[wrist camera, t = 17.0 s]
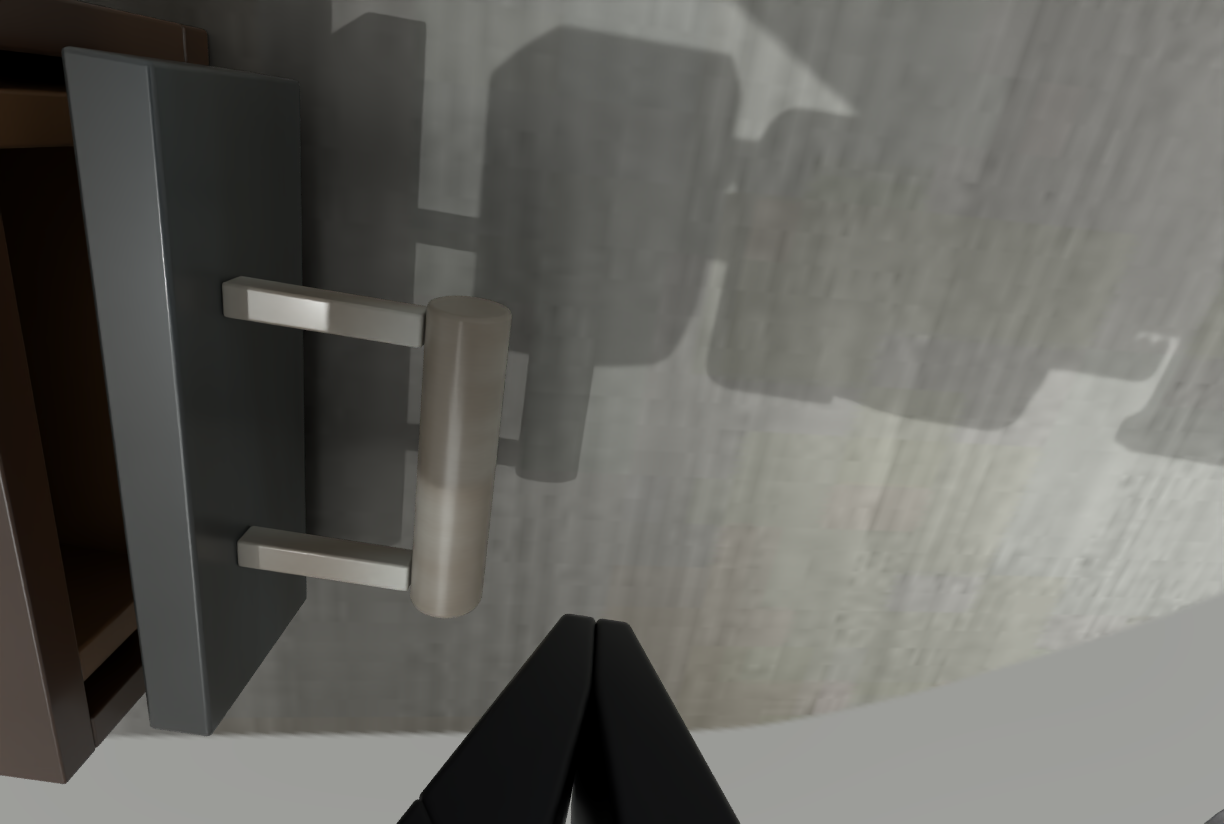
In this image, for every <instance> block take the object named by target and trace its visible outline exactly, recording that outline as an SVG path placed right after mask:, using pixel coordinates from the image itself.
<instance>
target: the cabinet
mask: <svg viewBox="0 0 1224 824" xmlns="http://www.w3.org/2000/svg"><path fill="white" fill-rule="evenodd" d="M67 46H73V47H80V48H87V49H94V50H101V51H108V52H115V53H122V54H129V55H136V56H143V57H150V58H157V59H164V60H172V61H179V62H186V63H193V64H200V65H207V66H209V54H208V37H207V32H206V31H205V30H204V29H201V28H196V27H192V26H187V25H183V24H178V23H174V22H170V21H165V20H161V19H156V18H152V17H147V16H143V15H139V14H134V13H130V12H125V11H121V10H116V9H112V8H107V7H103V6H99V5H94V4H90V3H85V2H81V1H76V0H0V71H3V72H9V73H15V74H20V75H26V76H32V77H38V78H44V79H50V80H55V81H61V82H65V77H64V69H63V62H62V54H61V51H62V48H64V47H67ZM145 692H146V690H145V683H144V675H143V667H142V660H141V652H140V645H139V637H138V630H137V629H136V630H135V631H134V632H133V633H132V634H131V635H130V636H129V637H128V638H127V639H126V640H125V641H124V642H123V643H122V644H121V645H120V646H119V647H118V648H117V649H116V650H115V651H114V652H113V653H112V654H111V655H110V656H109V657H108V658H107V659H106V660H105V661H104V662H103V663H102V664H101V665H100V666H99V667H98V668H97V669H96V670H95V671H94V672H93V673H92V674H91V675H90V676H89V677H88V678H87V679H86V680H85V681H83V675H82V669H81V664H80V658H79V652H78V647H77V641H76V635H75V629H74V624H73V618H72V612H71V607H70V601H69V595H68V590H67V584H66V578H65V573H64V567H63V561H62V556H61V550H60V544H59V539H58V533H57V527H56V522H55V516H54V510H53V505H52V499H51V493H50V488H49V482H48V476H47V471H46V465H45V459H44V453H43V448H42V442H41V436H40V431H39V425H38V419H37V414H36V408H35V402H34V397H33V391H32V385H31V380H30V374H29V368H28V363H27V357H26V351H25V346H24V340H23V334H22V329H21V323H20V317H19V312H18V306H17V300H16V295H15V289H14V283H13V278H12V272H11V266H10V260H9V255H8V249H7V243H6V238H5V232H4V226H3V221H2V215H1V209H0V775H2V776H9V777H17V778H24V779H31V780H39V781H46V782H53V783H60V784H66V783H67V782H68V781H69V780H70V778H71V777H72V776H73V775H74V774H75V773H76V772H77V770H78V769H79V768H80V767H81V766H82V765H83V764H84V762H85V761H86V760H87V759H88V758H89V756H90V755H91V754H92V753H93V752H94V751H95V748H96V747H98V746H99V745H100V744H101V742H102V741H103V740H104V739H105V738H106V737H107V736H108V734H109V733H110V732H111V731H112V730H113V729H114V728H115V726H116V725H117V724H118V723H119V722H120V721H121V719H122V718H123V717H124V716H125V715H126V714H127V713H128V711H129V710H130V709H131V708H132V707H133V706H134V704H135V703H136V702H137V701H138V700H139V699H140V698H141V696H142V695H143V694H144V693H145Z"/></svg>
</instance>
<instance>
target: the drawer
mask: <svg viewBox="0 0 1224 824" xmlns="http://www.w3.org/2000/svg"><path fill="white" fill-rule="evenodd" d="M61 54H62V62H63V69H64V77H65V82H61V81H55V80H50V79H44V78H38V77H32V76H26V75H20V74H15V73H9V72H3V71H0V209H1V215H2V221H3V226H4V232H5V238H6V243H7V249H8V255H9V260H10V266H11V272H12V278H13V283H14V289H15V295H16V300H17V306H18V312H19V317H20V323H21V329H22V334H23V340H24V346H25V351H26V357H27V363H28V368H29V374H30V380H31V385H32V391H33V397H34V402H35V408H36V414H37V419H38V425H39V431H40V436H41V442H42V448H43V453H44V459H45V465H46V471H47V476H48V482H49V488H50V493H51V499H52V505H53V510H54V516H55V522H56V527H57V533H58V539H59V544H60V550H61V556H62V561H63V567H64V573H65V578H66V584H67V590H68V595H69V601H70V607H71V612H72V618H73V624H74V629H75V635H76V641H77V647H78V652H79V658H80V664H81V669H82V675H83V681H85V680H86V679H87V678H88V677H89V676H90V675H91V674H92V673H93V672H94V671H95V670H96V669H97V668H98V667H99V666H100V665H101V664H102V663H103V662H104V661H105V660H106V659H107V658H108V657H109V656H110V655H111V654H112V653H113V652H114V651H115V650H116V649H117V648H118V647H119V646H120V645H121V644H122V643H123V642H124V641H125V640H126V639H127V638H128V637H129V636H130V635H131V634H132V633H133V632H134V631H135V630H136V629H137V630H138V637H139V645H140V652H141V660H142V667H143V675H144V683H145V690H146V698H147V705H148V713H149V720H150V726H151V727H152V728H154V729H160V730H167V731H174V732H181V733H188V734H195V735H202V736H210V735H211V734H212V733H213V732H214V730H215V729H216V727H217V726H218V725H219V723H220V722H221V720H222V719H223V717H224V716H225V715H226V713H227V712H228V710H229V709H230V707H231V706H232V705H233V703H234V702H235V700H236V699H237V697H238V696H239V694H240V693H241V692H242V690H243V689H244V687H245V686H246V684H247V683H248V682H249V680H250V679H251V677H252V676H253V674H254V673H255V672H256V670H257V669H258V667H259V666H260V664H261V663H262V662H263V660H264V659H265V657H266V656H267V654H268V653H269V651H270V650H271V649H272V647H273V646H274V644H275V643H276V641H277V640H278V639H279V637H280V636H281V634H282V633H283V631H284V630H285V629H286V627H287V626H288V624H289V623H290V621H291V620H292V619H293V617H294V616H295V614H296V613H297V611H298V610H299V608H300V607H301V606H302V604H303V603H304V601H305V600H306V576H308V577H315V578H321V579H328V580H335V581H341V582H348V583H355V584H361V585H368V586H374V587H381V588H388V589H394V590H401V591H407V590H408V588H409V586H410V584H411V587H410V597H411V600H412V602H413V604H414V606H415V607H416V608H417V609H418V610H419V611H421V612H422V613H424V614H426V615H429V616H432V617H436V618H454V617H459V616H462V615H465V614H467V613H469V612H471V611H472V610H473V609H475V607H476V606H477V605H478V604H479V602H480V600H481V598H482V592H483V582H484V573H485V564H486V554H487V545H488V536H489V526H490V517H491V507H492V498H493V489H494V479H495V470H496V461H497V451H498V442H499V432H500V423H501V414H502V404H503V395H504V385H505V376H506V367H507V357H508V348H509V339H510V329H511V320H512V315H511V312H510V310H509V309H508V308H507V307H505V306H504V305H501V304H499V303H497V302H494V301H491V300H487V299H483V298H477V297H470V296H445V297H439V298H435V299H433V300H431V301H430V302H429V303H428V305H427V306H421V305H415V304H409V303H403V302H397V301H391V300H385V299H378V298H372V297H366V296H360V295H354V294H348V293H342V292H336V291H330V290H324V289H317V288H311V287H305V286H302V226H301V151H300V85H299V82H297V81H296V80H293V79H288V78H282V77H276V76H270V75H264V74H259V73H253V72H247V71H241V70H235V69H228V68H221V67H214V66H207V65H200V64H193V63H186V62H179V61H172V60H164V59H157V58H150V57H143V56H136V55H129V54H122V53H115V52H108V51H101V50H94V49H87V48H80V47H73V46H67V47H64V48H62V51H61ZM303 330H309V331H316V332H322V333H328V334H334V335H340V336H346V337H353V338H359V339H365V340H371V341H377V342H384V343H390V344H396V345H402V346H408V347H414V348H421V347H422V346H423V345H424V360H423V377H422V395H421V412H420V430H419V447H418V465H417V482H416V499H415V517H414V534H413V550H409V549H402V548H396V547H389V546H383V545H376V544H370V543H363V542H356V541H350V540H343V539H337V538H330V537H324V536H317V535H311V534H306V523H305V448H304V374H303Z"/></svg>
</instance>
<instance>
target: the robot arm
mask: <svg viewBox="0 0 1224 824" xmlns="http://www.w3.org/2000/svg"><path fill="white" fill-rule="evenodd" d="M572 788H573V791H572ZM571 793H572V803H571V824H740V822H739V820H738V819H737V817H736V815H735V813H734V812H733V810H732V808H731V806H730V804H729V802H728V801H727V799H726V797H725V795H724V793H723V792H722V790H721V788H720V786H719V785H718V783H717V781H716V779H715V777H714V776H713V774H712V772H711V770H710V768H709V766H708V765H707V763H706V761H705V759H704V758H703V756H702V754H701V752H700V750H699V749H698V747H697V745H696V743H695V741H694V740H693V738H692V736H691V734H690V732H689V731H688V729H687V727H686V725H685V723H684V722H683V720H682V718H681V716H680V714H679V713H678V711H677V709H676V707H675V705H674V704H673V702H672V700H671V698H670V697H669V695H668V693H667V691H666V689H665V688H664V686H663V684H662V682H661V680H660V679H659V677H658V675H657V673H656V671H655V670H654V668H653V666H652V664H651V662H650V661H649V659H648V657H647V655H646V653H645V652H644V650H643V648H642V646H641V644H640V643H639V641H638V639H637V637H636V636H635V634H634V632H633V630H632V628H631V627H630V625H629V624H627V623H625V622H620V621H614V620H607V619H599V620H598V621H597V622H595V620H594V619H593V618H592V617H587V616H581V615H574V614H565V615H563V616H562V617H561V618H560V620H559V621H558V622H557V623H556V625H555V626H554V627H553V628H552V630H551V631H550V632H549V633H548V635H547V636H546V637H545V638H544V640H543V641H542V642H541V643H540V645H539V646H538V647H537V648H536V650H535V651H534V652H533V653H532V655H531V656H530V657H529V658H528V660H527V661H526V662H525V664H524V665H523V666H522V667H521V669H520V670H519V671H518V672H517V674H516V675H515V676H514V677H513V679H512V680H511V681H510V682H509V684H508V685H507V686H506V687H505V689H504V690H503V691H502V692H501V694H500V695H499V696H498V697H497V699H496V700H495V701H494V702H493V704H492V705H491V706H490V707H489V709H488V710H487V711H486V712H485V714H484V715H483V716H482V717H481V719H480V720H479V721H478V723H477V724H476V725H475V726H474V728H473V729H472V730H471V731H470V733H469V734H468V735H467V736H466V738H465V739H464V740H463V741H462V743H461V744H460V745H459V746H458V748H457V749H456V750H455V751H454V753H453V754H452V755H451V756H450V758H449V759H448V760H447V762H446V763H445V764H444V765H443V767H442V768H441V769H440V770H439V771H438V773H437V774H436V775H435V776H434V778H433V779H432V780H431V782H430V783H429V784H428V785H427V787H426V788H425V789H424V790H423V792H422V793H421V794H420V797H419V800H415V801H414V802H413V804H412V805H411V806H410V808H409V809H408V810H407V811H406V812H405V814H404V815H403V816H402V817H401V819H400V820H399V821H398V822H397V824H565V822H566V818H567V813H568V809H569V804H570V799H571Z"/></svg>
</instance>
